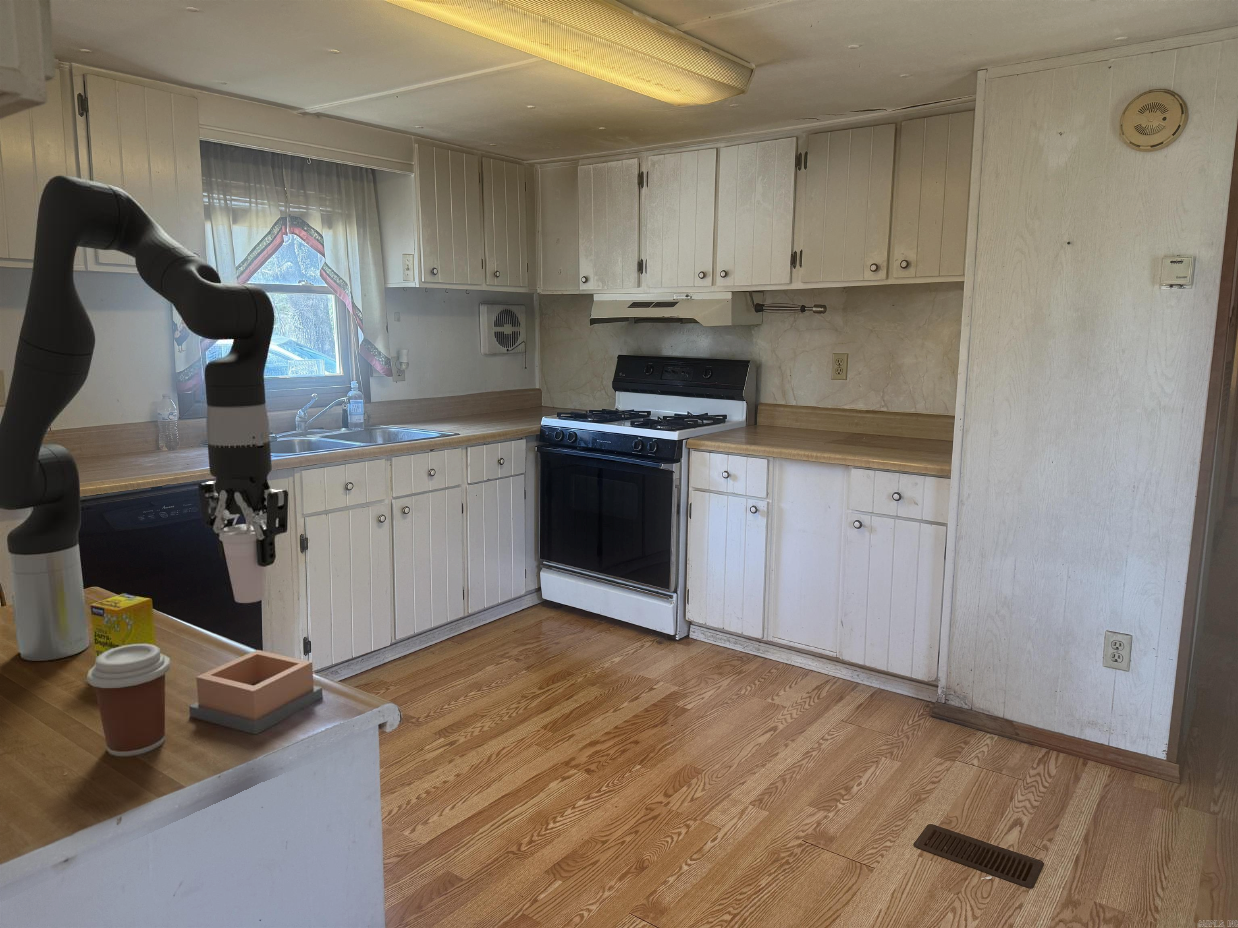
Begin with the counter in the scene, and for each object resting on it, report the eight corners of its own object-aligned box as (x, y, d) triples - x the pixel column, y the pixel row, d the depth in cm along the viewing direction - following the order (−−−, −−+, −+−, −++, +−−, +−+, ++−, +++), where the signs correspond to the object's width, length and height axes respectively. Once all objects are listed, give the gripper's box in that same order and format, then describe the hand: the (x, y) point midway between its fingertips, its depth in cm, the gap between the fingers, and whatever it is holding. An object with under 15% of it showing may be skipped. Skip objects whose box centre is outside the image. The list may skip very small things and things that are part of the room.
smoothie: (256, 607, 112) (249, 503, 109) (213, 604, 113) (205, 501, 110) (284, 592, 118) (278, 493, 115) (243, 589, 119) (236, 491, 117)
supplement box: (95, 673, 128) (88, 604, 127) (131, 658, 134) (124, 592, 132) (123, 679, 126) (116, 609, 124) (158, 664, 132) (152, 597, 130)
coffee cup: (150, 720, 114) (142, 635, 112) (192, 737, 109) (184, 649, 107) (79, 749, 106) (69, 658, 104) (121, 769, 101) (111, 674, 99)
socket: (190, 716, 115) (186, 677, 114) (260, 682, 126) (257, 646, 125) (255, 734, 110) (252, 694, 109) (322, 697, 121) (320, 660, 120)
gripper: (175, 438, 111) (185, 562, 114) (257, 446, 105) (265, 576, 108) (222, 432, 118) (231, 548, 121) (302, 439, 112) (308, 561, 115)
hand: (247, 561), depth 114 cm, fingers closed on smoothie, 6 cm apart
